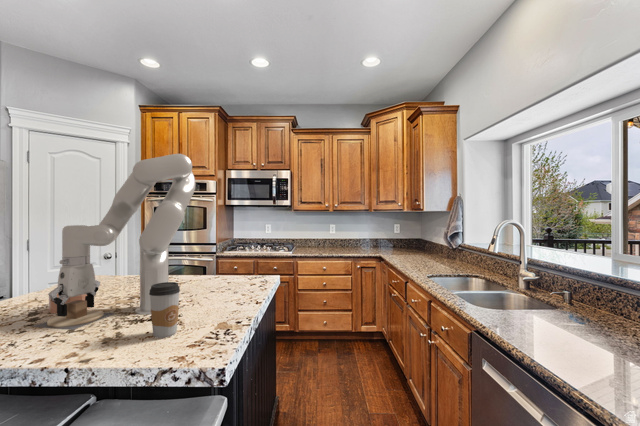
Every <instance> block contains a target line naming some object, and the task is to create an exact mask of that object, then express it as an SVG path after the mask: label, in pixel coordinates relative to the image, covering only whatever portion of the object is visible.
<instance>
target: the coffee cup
mask: <svg viewBox="0 0 640 426" xmlns="http://www.w3.org/2000/svg"><path fill="white" fill-rule="evenodd" d="M180 288H181V287H180V285H179V282H175V281H168V282H164V283H158V284H154V285H152V286H151V289H150V293H149V295H150V301H151V314H150V315H151V316H150V318H151V325H152V326H151V327H152V336H153V337H154V338H155V337H156V339H166V338H165V337H167V338H170V337H172V335H173V336H175V335H176V334H177V330H178V321H179V307H180V306H179V303H180V302H179V301H180V292H181V289H180Z"/></svg>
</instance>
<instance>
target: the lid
mask: <svg viewBox="0 0 640 426" xmlns="http://www.w3.org/2000/svg"><path fill="white" fill-rule="evenodd" d="M66 304H67V316H65V317H62V316H57V315H55V316H53V317H51V318H49V319H48V320H47V321H46V322H47V326H49V327H55V328H60V327H71V326H77V325H82V324H86V323H90V322H93V321H95V322H97V321H96V320H98V319H100V318H102V317H103V313H104V311H103V310H101V309H88V308H87V301H85V300H76V301H72V302H69V303H66ZM98 321H99V320H98ZM93 323H94V322H93ZM90 324H91V323H90ZM55 328H54V329H55Z"/></svg>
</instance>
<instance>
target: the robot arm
mask: <svg viewBox="0 0 640 426" xmlns="http://www.w3.org/2000/svg"><path fill="white" fill-rule="evenodd" d="M192 170H193V162H192V160H191V159H190V157H188V156H187V155H185V154H183V153H174V154H173V153H172V154H168V155H167V154H166V155H162V156H157V157H152V158H147V159H142V160H139V161H137V162H136V163H135V164H134V165H133V167H132V171H131V173H130V175H128V177H127V179H126V180H125V182H123V184H122V186H121V187H120V188H119V190H117V192H116V194H115V195H114V197H113V200H112V203H111V206H110V208H109V209H108V211H107V213H106V214H105V215H104V217H103V218H102V220H100V222H99V224H97V225H96V224H95V225H84V224H83V225H82V224H81V225H80V224H76V225H75V224H73V225H72V224H71V225H66V226H63V228H62V230H61V231H62V233H61V244H62V245H61V248H62V249H61V255H62V256H61V260H59V264H60V265H62V266H60V269H59V272H58V277H57V286H56V287H55V288H54V289H52V290H51V291H50V292H49V293H48V294H47V295H48V298H49V297H50V298H51V301H53V302H54V303H55V304H57V313H56V316H62V317H65V316H67V304H65V303H66V301H67V300H68V298H69V297H75V296H79V295H83V294H86V295H87V296H85V301H87V307H89V308H88V309H90V308H91V309H92V308H94V307H95V296H96V295H97V292H98V291H99V288H100V286H101V281H99V280H96V276H95V275H96V274H95V269H94V265H93V263H91V246H93V247H94V246H95V247H106V246H108V245H110V244H112V243H114V242H115V241H116V240H117V238H118V237H119V236H120V234H121V232H122V231H123V229H125V227H126V225H127V224H128V223H129V221H130V219H131V218H132V216H134V214H135V213H136V212H137V211H138V210H139V208H140V207H141V205H142V204H143V202H144V200H145V199H146V198H147V196H148V195H149V193H150V192H151V191H152V189H153V188H154V186H155V185H156V183H157V182H162V181H166V180H167V181H168V180H171V181H172V183H171V185H170V187H169V189H168V191H167V193H166V194H165V197H164V198H163V200H162V201H161V202H160V204H159V205H158V206H157V207H156V209H155V211H154V212H153V214H152V216H151V218H150V219H149V221H148V222H147V224H146V226H145V228H144V230H143V231H142V232H141V234H140V236H139V239H138V244H139V307H136V308H135V310H134V313H135V314H137V315H145V316H146V315H151V301H150V295H149V293H150V289H151V286H152V285H154V284H158V283H164V282H169V246H170V244H171V242H172V240H173V239H174V237H175V236H176V233H177V231H178V230H179V228H180V226H181V225H182V222H183V220H184V218H185V210H186V209H187V207H188V206H189V203H190V201H191V199H192V198H193V195H194V193H195V191H196V177H195V175H194V172H193V171H192ZM57 293H58V296H59V297H57ZM63 297H64V298H63Z"/></svg>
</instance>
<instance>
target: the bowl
mask: <svg viewBox="0 0 640 426" xmlns="http://www.w3.org/2000/svg"><path fill="white" fill-rule="evenodd" d="M85 296H87V295H86V294H83V295H79V296H75V297H69V298H68V300H67V301H66V303H69V302H72V301H76V300H85ZM57 297H59V296H58V293H57ZM63 298H64V297H63ZM66 303H65V304H66ZM87 309H90V308H89V307H87ZM48 312H49V313H50V314H57V304H55V303H54V302H53V301H51V298H50V297H49V296H48Z"/></svg>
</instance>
